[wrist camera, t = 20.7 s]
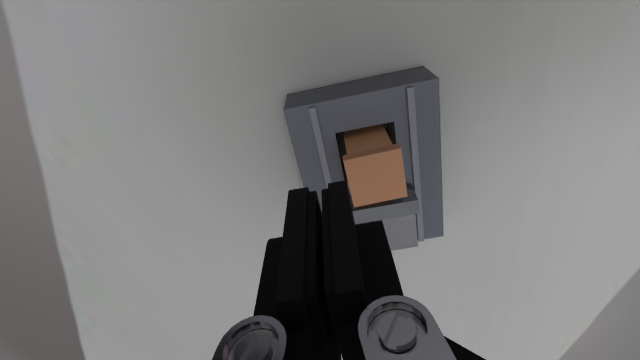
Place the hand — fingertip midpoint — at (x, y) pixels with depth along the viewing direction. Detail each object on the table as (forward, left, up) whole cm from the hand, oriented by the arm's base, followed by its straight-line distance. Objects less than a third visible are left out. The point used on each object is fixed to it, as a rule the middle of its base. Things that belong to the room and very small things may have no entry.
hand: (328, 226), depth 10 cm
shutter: (-3, +17, -22) cm, 28 cm away
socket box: (-3, +12, -27) cm, 30 cm away
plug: (-3, +9, -27) cm, 29 cm away
